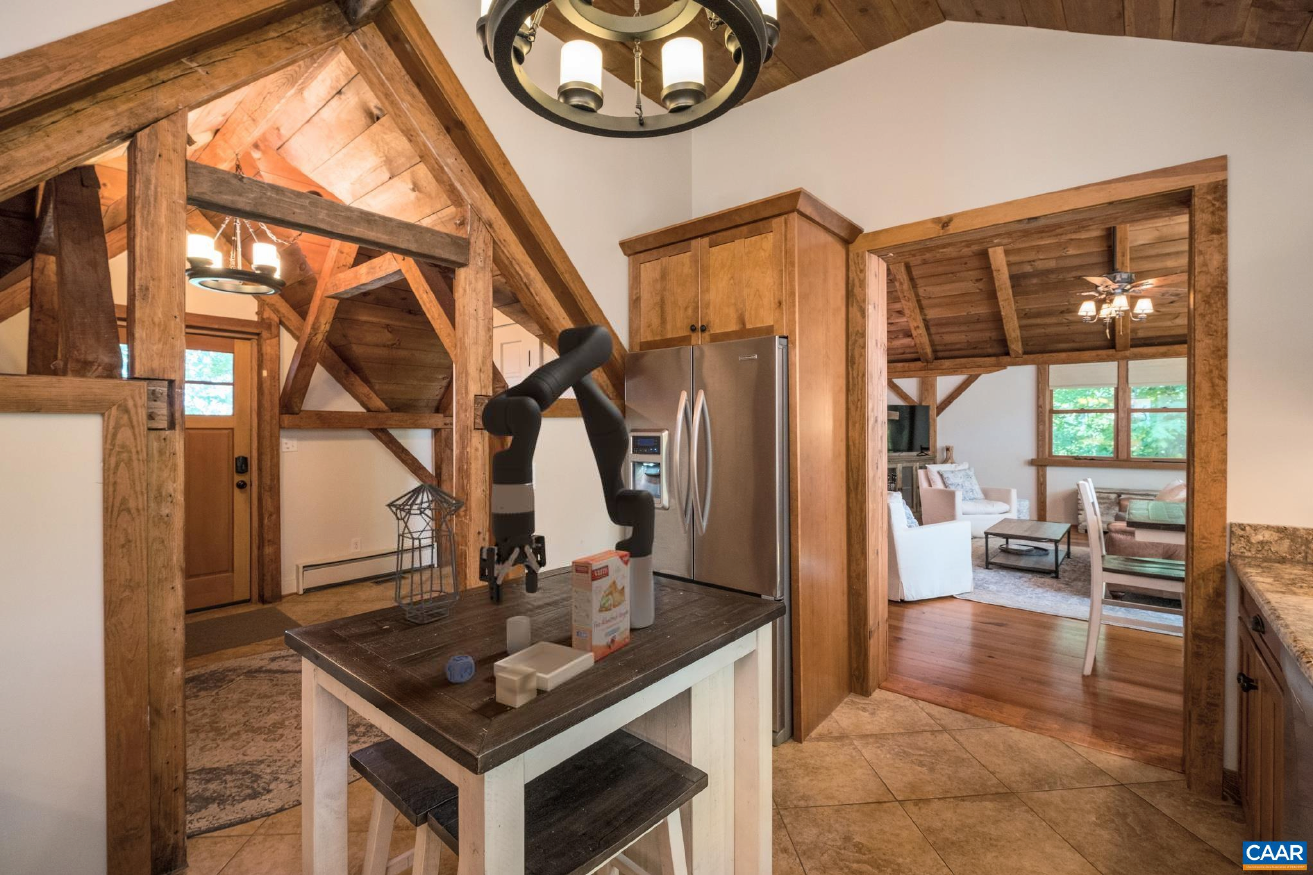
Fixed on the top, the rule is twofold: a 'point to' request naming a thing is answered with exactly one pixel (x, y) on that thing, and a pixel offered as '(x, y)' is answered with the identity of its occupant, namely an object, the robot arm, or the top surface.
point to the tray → (549, 663)
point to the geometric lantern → (433, 491)
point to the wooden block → (516, 685)
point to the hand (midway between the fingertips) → (514, 598)
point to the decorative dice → (460, 668)
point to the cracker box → (601, 602)
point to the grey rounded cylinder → (518, 634)
